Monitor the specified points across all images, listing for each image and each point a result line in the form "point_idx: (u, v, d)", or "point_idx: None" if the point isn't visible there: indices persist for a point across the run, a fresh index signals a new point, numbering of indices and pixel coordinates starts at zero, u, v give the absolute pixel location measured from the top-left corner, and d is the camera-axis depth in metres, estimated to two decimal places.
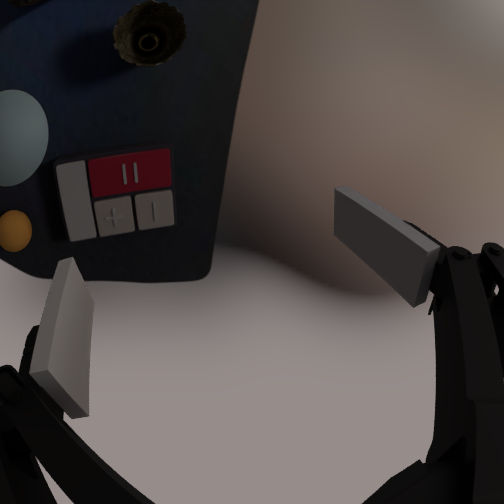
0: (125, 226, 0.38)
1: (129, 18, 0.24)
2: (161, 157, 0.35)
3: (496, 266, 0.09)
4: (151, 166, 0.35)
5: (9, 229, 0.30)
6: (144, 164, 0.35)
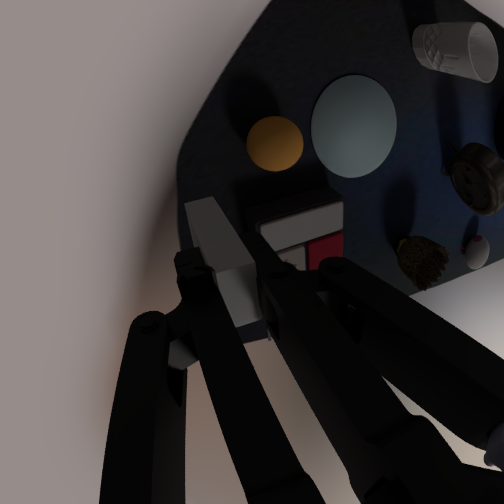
0: None
1: None
2: None
3: (347, 289, 0.09)
4: None
5: (297, 152, 0.28)
6: None
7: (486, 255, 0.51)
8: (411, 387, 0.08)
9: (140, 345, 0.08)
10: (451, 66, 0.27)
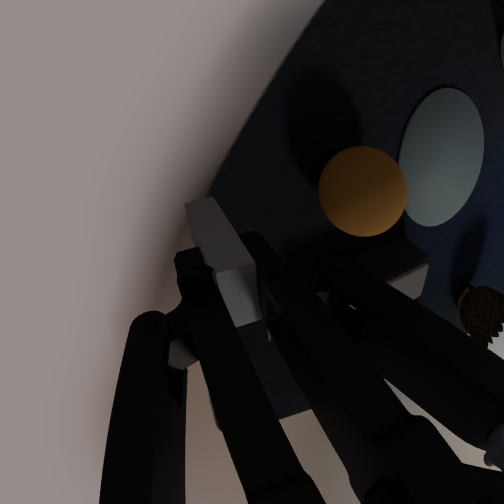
0: None
1: None
2: None
3: (347, 289, 0.09)
4: None
5: (402, 211, 0.17)
6: None
7: None
8: (411, 387, 0.08)
9: (140, 345, 0.08)
10: None
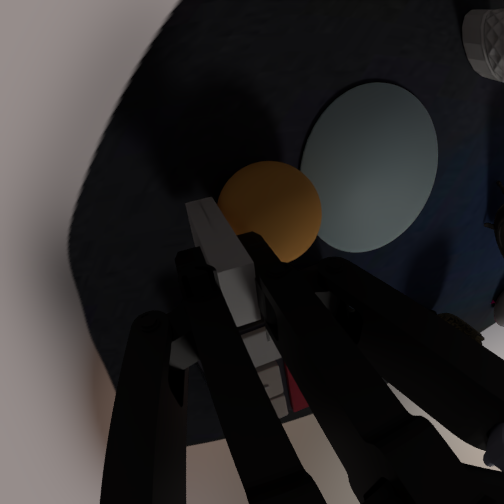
0: None
1: None
2: None
3: (346, 289, 0.09)
4: None
5: (319, 228, 0.16)
6: None
7: None
8: (411, 388, 0.08)
9: (141, 345, 0.08)
10: None
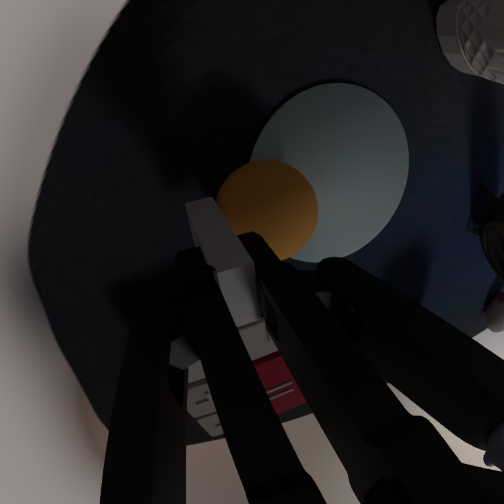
0: (199, 410, 0.23)
1: None
2: (297, 401, 0.28)
3: (346, 289, 0.09)
4: (287, 400, 0.27)
5: None
6: (289, 395, 0.26)
7: None
8: (411, 388, 0.08)
9: (141, 345, 0.08)
10: None
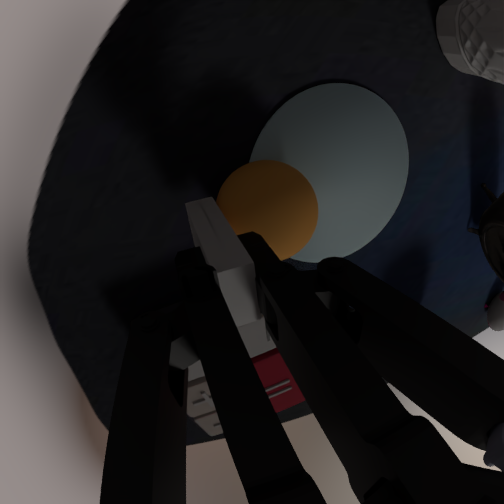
0: (195, 410, 0.23)
1: None
2: (296, 400, 0.27)
3: (346, 289, 0.09)
4: (285, 398, 0.26)
5: None
6: (288, 393, 0.26)
7: None
8: (411, 388, 0.08)
9: (141, 345, 0.08)
10: None
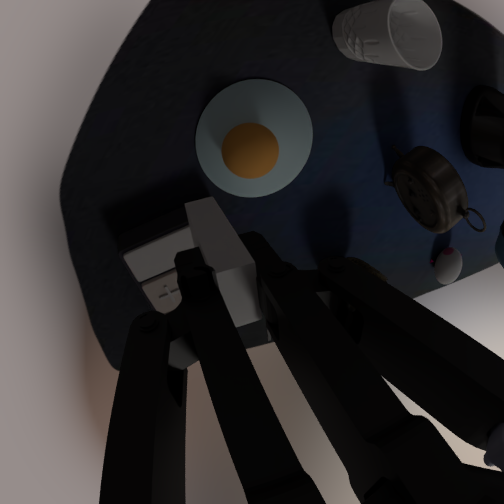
0: (162, 306, 0.34)
1: None
2: None
3: (347, 289, 0.09)
4: None
5: None
6: None
7: (458, 269, 0.49)
8: (411, 387, 0.08)
9: (140, 345, 0.08)
10: (374, 54, 0.24)
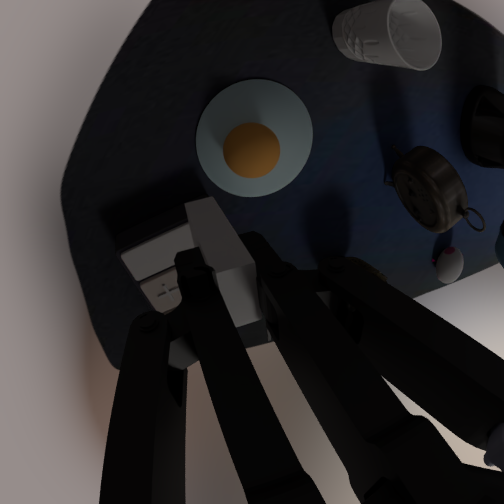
0: (161, 305, 0.34)
1: None
2: None
3: (347, 289, 0.09)
4: None
5: None
6: None
7: (459, 269, 0.49)
8: (411, 387, 0.08)
9: (140, 345, 0.08)
10: (374, 54, 0.24)
